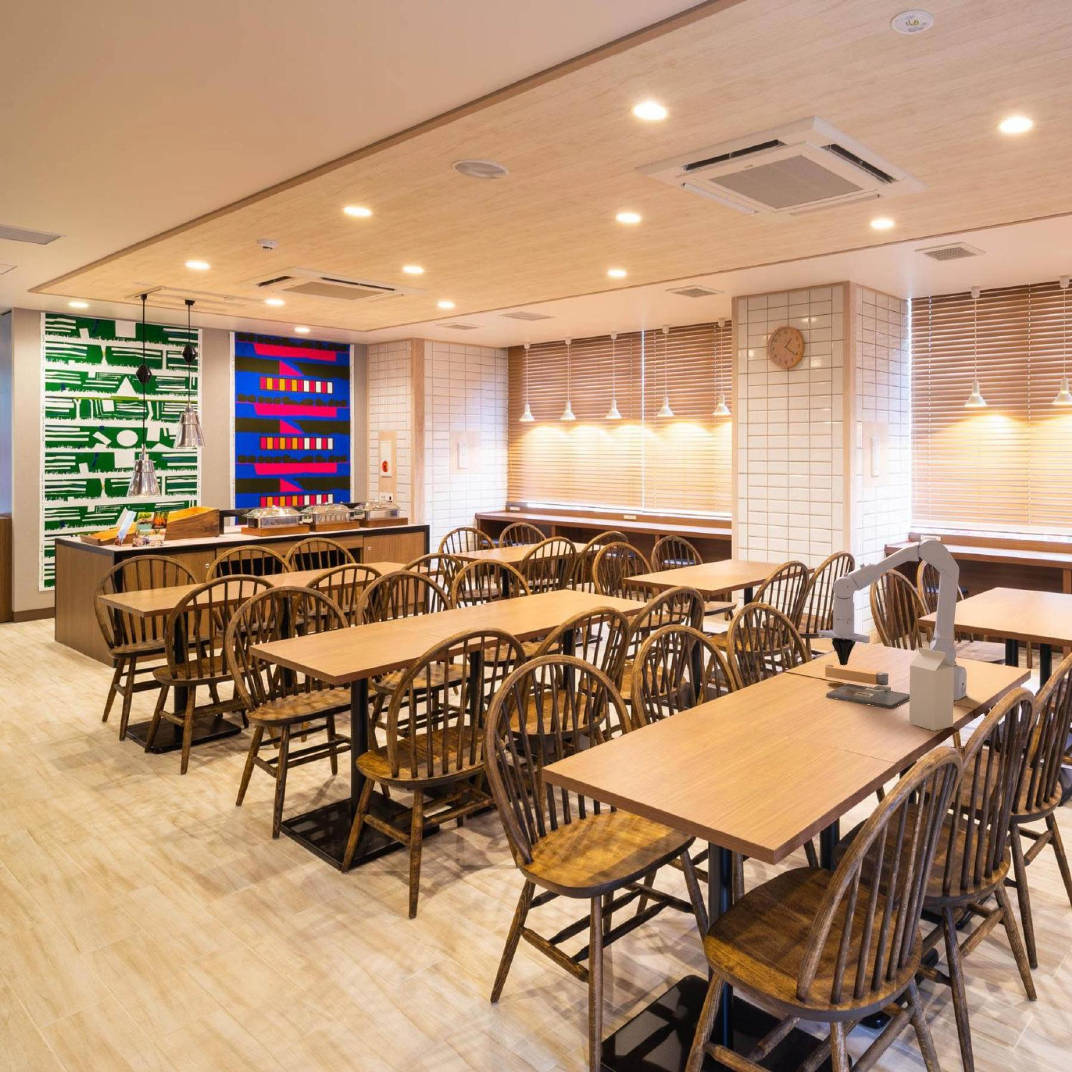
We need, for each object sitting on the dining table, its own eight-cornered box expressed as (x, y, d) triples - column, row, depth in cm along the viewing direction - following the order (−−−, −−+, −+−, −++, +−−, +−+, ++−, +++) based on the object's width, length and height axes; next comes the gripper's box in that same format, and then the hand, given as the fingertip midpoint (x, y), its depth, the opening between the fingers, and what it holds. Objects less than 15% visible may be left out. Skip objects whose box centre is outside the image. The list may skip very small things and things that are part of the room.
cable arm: (890, 683, 237) (890, 673, 237) (885, 686, 235) (885, 675, 234) (828, 673, 250) (828, 663, 250) (823, 676, 247) (823, 666, 247)
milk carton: (934, 731, 200) (935, 654, 199) (908, 724, 207) (909, 649, 205) (953, 726, 204) (954, 651, 202) (927, 719, 210) (929, 645, 208)
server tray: (916, 695, 232) (916, 689, 232) (890, 708, 220) (890, 703, 220) (854, 684, 245) (854, 679, 245) (826, 696, 232) (826, 691, 232)
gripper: (813, 617, 242) (813, 663, 243) (862, 623, 232) (862, 670, 233) (824, 614, 247) (824, 659, 248) (873, 619, 237) (872, 666, 238)
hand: (843, 664), depth 241 cm, fingers closed
